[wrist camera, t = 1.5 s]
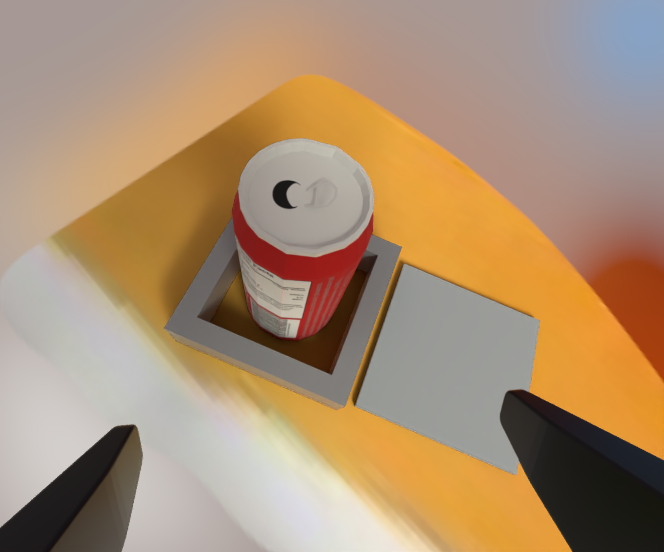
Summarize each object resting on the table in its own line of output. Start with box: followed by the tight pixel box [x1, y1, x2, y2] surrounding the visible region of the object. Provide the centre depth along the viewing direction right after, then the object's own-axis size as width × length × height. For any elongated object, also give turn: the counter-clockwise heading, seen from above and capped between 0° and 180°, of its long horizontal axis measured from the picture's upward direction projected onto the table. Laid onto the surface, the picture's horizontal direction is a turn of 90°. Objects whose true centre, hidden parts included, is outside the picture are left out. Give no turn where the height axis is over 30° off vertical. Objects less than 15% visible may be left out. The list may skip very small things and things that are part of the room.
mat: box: [355, 264, 540, 475], centre depth 24 cm, size 10×10×1 cm
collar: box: [164, 216, 402, 410], centre depth 23 cm, size 10×10×3 cm
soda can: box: [232, 138, 374, 341], centre depth 19 cm, size 6×6×12 cm
